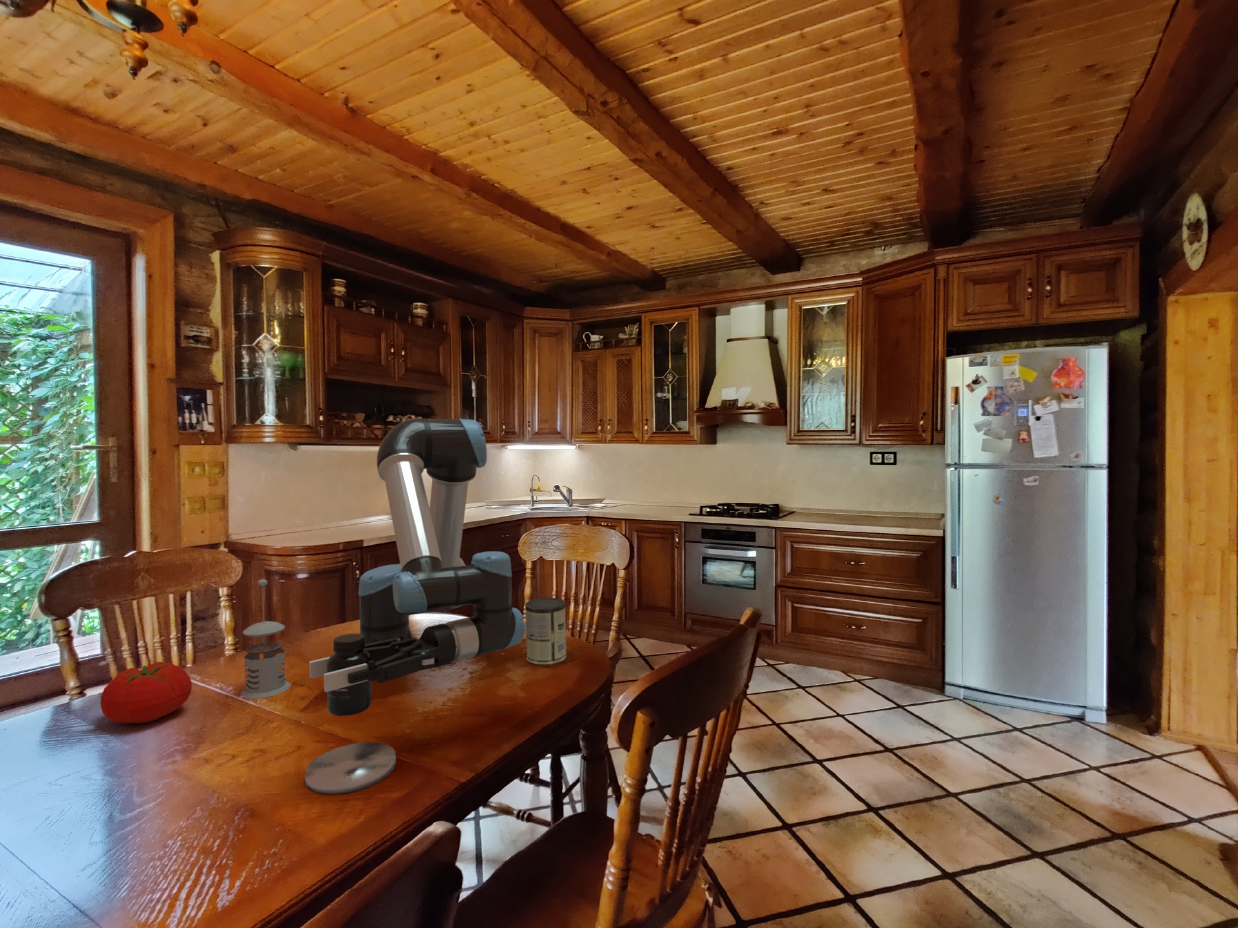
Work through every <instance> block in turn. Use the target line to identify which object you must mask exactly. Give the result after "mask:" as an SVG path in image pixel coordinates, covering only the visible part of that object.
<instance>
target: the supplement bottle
mask: <svg viewBox="0 0 1238 928" xmlns="http://www.w3.org/2000/svg"><path fill="white" fill-rule="evenodd" d="M364 648H365V636H364V635H362V634H360V633H347V634H343V635H339V636H337V637H335V638H334V639H333V646H332V651H333V654H332V655H330V656H329V657H330V658H329V659H328V661H327V673H329V672H333V671H337V670H341V669H345V668H349V667H353V666H357V665H361V664H365V663H366V664H367V668H369V660H371V655H370V653H369V652H368V651H366V650H364ZM372 682H373V681H369V679H368V681H365V682H361V683H358V684H354V685H350V686H347V687H343V688H339V689H336V690H332V691H328V692H326V693H327V694H326V696H327V697H326V698H327V711H328V713H329V714H331V715H333V716H336V717H348V716H353V715H358V714H361V713H363V712H364V711H366V710H368V709H369V708H370V706H371V704H372V701H373V700H372V699H373V698H372V697H373V694H372V693H373V692H372V690H373V688H372V687H373V686H372Z"/></svg>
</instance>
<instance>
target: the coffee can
mask: <svg viewBox="0 0 1238 928" xmlns="http://www.w3.org/2000/svg"><path fill="white" fill-rule="evenodd" d="M524 604H525V605H524V606H525V635H526V637H525V638H526V660H527V662H529V663H530V664H533V665H534V664H535V665H545V666H546V665H552V664H553V665H555V664H557V663H558V664H559V663H560V662H562V661H565V660H566V658H567V630H566V629H567V627H566V625H567V622H566V621H567V620H566V619H567V618H566V617H567V616H566V605H567V602H566V600H564V599H561V598H556V597H541V598H540V597H539V598H534V599H531V600H529V601H527V602H525V603H524Z"/></svg>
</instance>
